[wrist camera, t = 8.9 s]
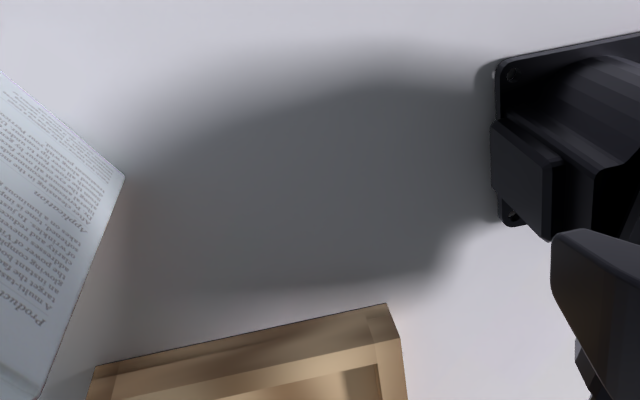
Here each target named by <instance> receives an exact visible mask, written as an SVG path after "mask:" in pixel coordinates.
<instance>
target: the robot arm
mask: <svg viewBox="0 0 640 400" xmlns="http://www.w3.org/2000/svg"><path fill="white" fill-rule="evenodd" d="M513 68H515V69H516V74H515V76H514V77H513V78H512V79H510V80H507V73H508V72H509V71H510V70H511V69H513ZM495 101H496V120H494V122H493V123H492V125H491V126H490V153H491V186H492V188H493V189H494V190H495V191H496V192H497V199H498V216H499V219H500V220H501V221H502V222H503V223H504V224H505V225H506V226H508V227H517V226H522V225H528V226H529V227H530V228H531V229H532V230H533V231H534V232H535V233H536V234H537V235H538V236H539V237H540V238H542V239H543V240H545V241H546V242H548V243H549V242H552V243H551V268H550V285H551V290H552V294H553V296H554V298H555V300H556V302H557V304H558V306H559V308H560V309H561V311H562V313H563V315H564V317H565V318H566V320H567V322H568V324H569V326H570V327H571V329H572V331H573V333H574V334H575V336H576V340H575V363H576V365H577V367H578V369H579V371H580V373H581V375H582V378H583V380H584V382H585V384H586V386H587V388H588V390H589V391H590V392H591V396H590V398H589V400H640V33H635V34H629V35H624V36H619V37H614V38H609V39H604V40H599V41H594V42H589V43H584V44H579V45H574V46H569V47H564V48H559V49H553V50H548V51H543V52H538V53H533V54H528V55H523V56H518V57H513V58H508V59H506V60H503V61H502V62H501V63H500V64H499V65H498V67H497V69H496V72H495ZM513 210H514V211H515V212H516V213H515V214H514V215H513V216H511V217H508V216H509V213H510V212H511V211H513Z"/></svg>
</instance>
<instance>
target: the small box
mask: <svg viewBox="0 0 640 400" xmlns="http://www.w3.org/2000/svg"><path fill="white" fill-rule="evenodd" d="M124 181H125V176H124V175H123V173H121V172H120V171H119V170H118V169H117V168H116V167H114V166H113V165H112V164H111V163H110V162H108V161H107V160H106V159H105V158H104V157H102V156H101V155H100V154H99V153H98V152H97V151H96V150H94V149H93V148H92V147H91V146H90V145H89V144H87V143H86V142H85V141H84V140H83V139H82V138H80V137H79V136H78V135H77V134H76V133H75V132H73V131H72V130H71V129H70V128H69V127H67V126H66V125H65V124H64V123H63V122H62V121H60V120H59V119H58V118H57V117H56V116H54V115H53V114H52V113H51V112H50V111H49V110H47V109H46V108H45V107H44V106H43V105H41V104H40V103H39V102H38V101H37V100H36V99H34V98H33V97H32V96H31V95H30V94H28V93H27V92H26V91H25V90H24V89H22V88H21V87H20V86H19V85H18V84H16V83H15V82H14V81H13V80H12V79H10V78H9V77H8V76H7V75H6V74H4V73H3V72H2V71H1V70H0V400H36V399H37V398H38V397H39V396H40V394H41V392H42V390H43V388H44V385H45V383H46V380H47V377H48V374H49V372H50V369H51V367H52V364H53V362H54V360H55V357H56V355H57V352H58V349H59V347H60V344H61V342H62V339H63V336H64V333H65V331H66V328H67V326H68V323H69V321H70V318H71V316H72V314H73V311H74V308H75V306H76V303H77V301H78V299H79V296H80V293H81V291H82V288H83V285H84V282H85V280H86V277H87V275H88V272H89V268H90V266H91V263H92V261H93V259H94V256H95V254H96V251H97V249H98V246H99V244H100V242H101V239H102V237H103V234H104V232H105V229H106V227H107V224H108V222H109V219H110V216H111V214H112V211H113V208H114V206H115V203H116V200H117V198H118V195H119V193H120V190H121V188H122V186H123V184H124Z"/></svg>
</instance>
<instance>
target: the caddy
mask: <svg viewBox="0 0 640 400" xmlns="http://www.w3.org/2000/svg"><path fill="white" fill-rule="evenodd" d="M86 400H408V397H407V389H406V381H405V373H404V365H403V357H402V348H401V340H400V336H399V334H398V331H397V329H396V326H395V324H394V321H393V319H392V316H391V314H390V311H389V309H388V306H387V304H386V303H385V304H381V305H376V306H371V307H367V308H362V309H358V310H353V311H348V312H344V313H339V314H335V315H330V316H325V317H321V318H316V319H312V320H307V321H302V322H298V323H293V324H289V325H284V326H280V327H275V328H270V329H266V330H261V331H257V332H252V333H247V334H243V335H238V336H234V337H229V338H224V339H220V340H215V341H211V342H206V343H201V344H197V345H192V346H188V347H183V348H178V349H174V350H169V351H165V352H160V353H155V354H151V355H146V356H142V357H137V358H132V359H128V360H123V361H119V362H114V363H109V364H105V365H100V366H96V367H95V370H94V373H93V377H92V380H91V383H90V387H89V390H88V393H87V397H86Z"/></svg>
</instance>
